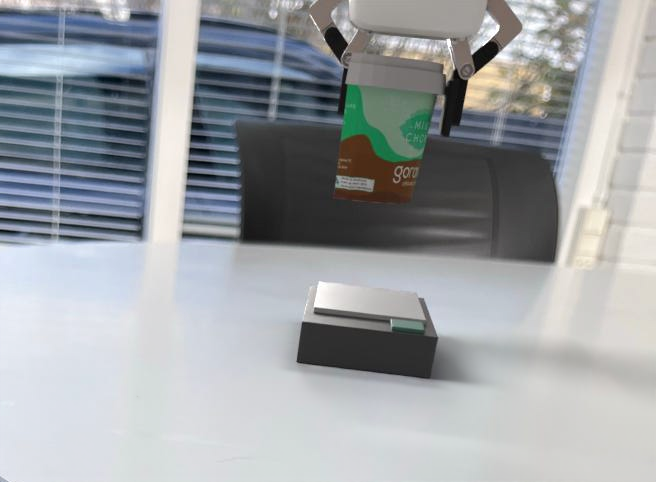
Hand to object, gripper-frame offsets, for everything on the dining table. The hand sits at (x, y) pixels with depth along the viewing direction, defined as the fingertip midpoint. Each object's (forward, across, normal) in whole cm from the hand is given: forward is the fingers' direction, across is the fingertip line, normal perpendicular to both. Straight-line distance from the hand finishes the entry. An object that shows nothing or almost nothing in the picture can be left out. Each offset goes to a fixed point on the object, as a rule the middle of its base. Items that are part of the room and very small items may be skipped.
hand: (396, 129), depth 84 cm
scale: (+16, 0, +4) cm, 17 cm away
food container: (+5, 0, 0) cm, 5 cm away
